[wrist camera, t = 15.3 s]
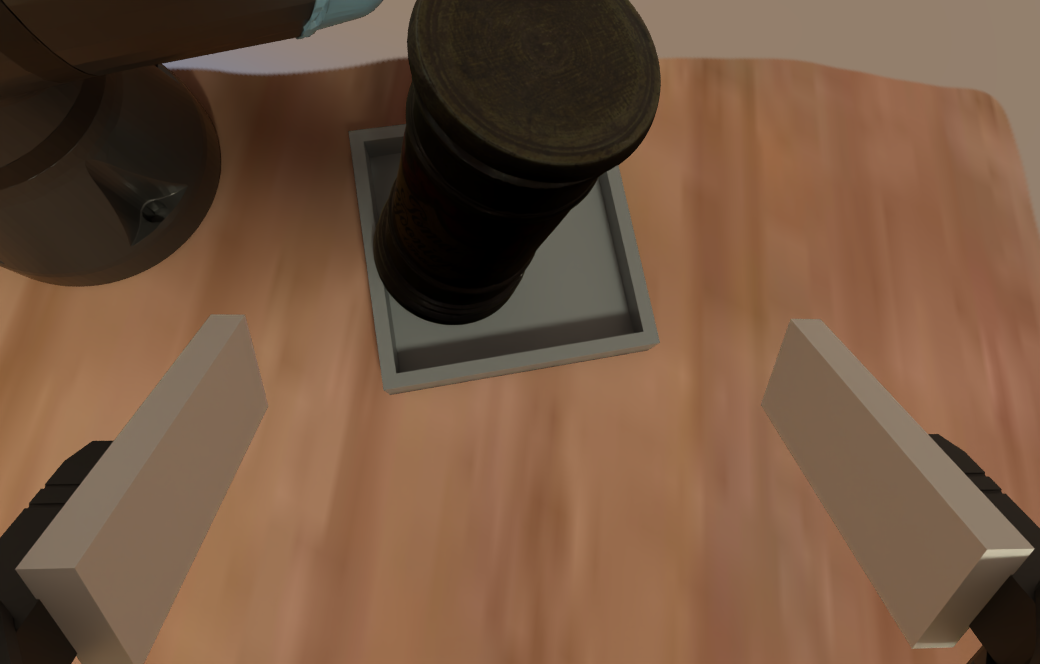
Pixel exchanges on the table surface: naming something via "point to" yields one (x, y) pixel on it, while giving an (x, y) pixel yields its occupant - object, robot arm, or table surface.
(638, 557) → the table surface
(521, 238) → the container
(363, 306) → the table surface
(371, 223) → the tray
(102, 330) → the table surface
